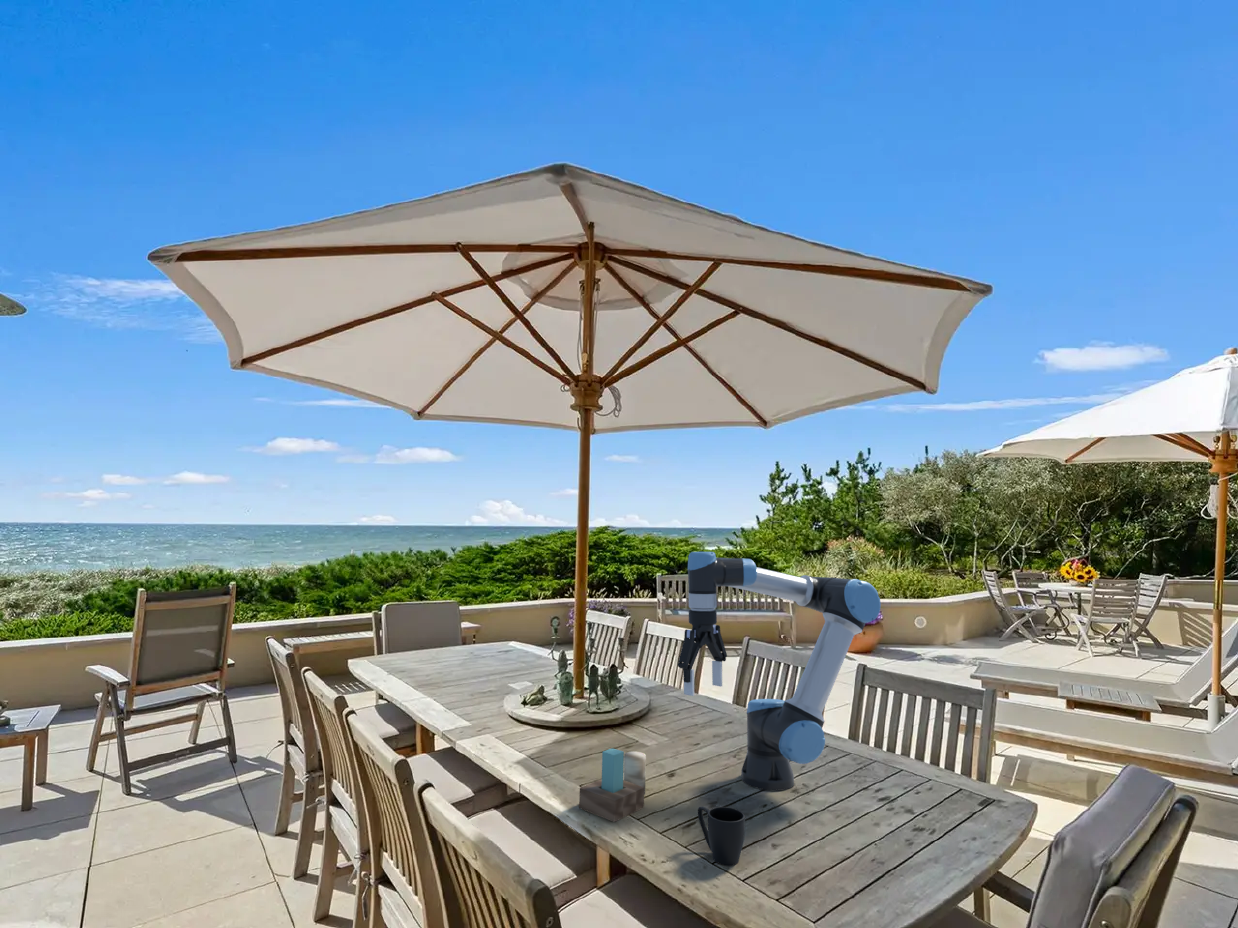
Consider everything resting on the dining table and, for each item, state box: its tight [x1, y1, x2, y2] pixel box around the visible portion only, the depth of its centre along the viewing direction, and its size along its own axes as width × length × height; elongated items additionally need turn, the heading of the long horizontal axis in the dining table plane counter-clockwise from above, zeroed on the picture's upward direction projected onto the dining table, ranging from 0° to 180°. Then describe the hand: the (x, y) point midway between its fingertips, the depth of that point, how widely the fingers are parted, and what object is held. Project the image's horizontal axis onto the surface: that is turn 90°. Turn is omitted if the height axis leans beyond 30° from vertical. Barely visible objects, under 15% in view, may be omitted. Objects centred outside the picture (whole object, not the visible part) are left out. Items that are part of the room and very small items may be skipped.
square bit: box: [601, 747, 625, 793], centre depth 167 cm, size 4×4×14 cm
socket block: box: [578, 778, 645, 823], centre depth 167 cm, size 12×12×5 cm
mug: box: [697, 806, 746, 867], centre depth 142 cm, size 8×12×10 cm
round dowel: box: [623, 750, 647, 796], centre depth 177 cm, size 6×6×10 cm
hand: (703, 690), depth 170 cm, fingers open, 13 cm apart
